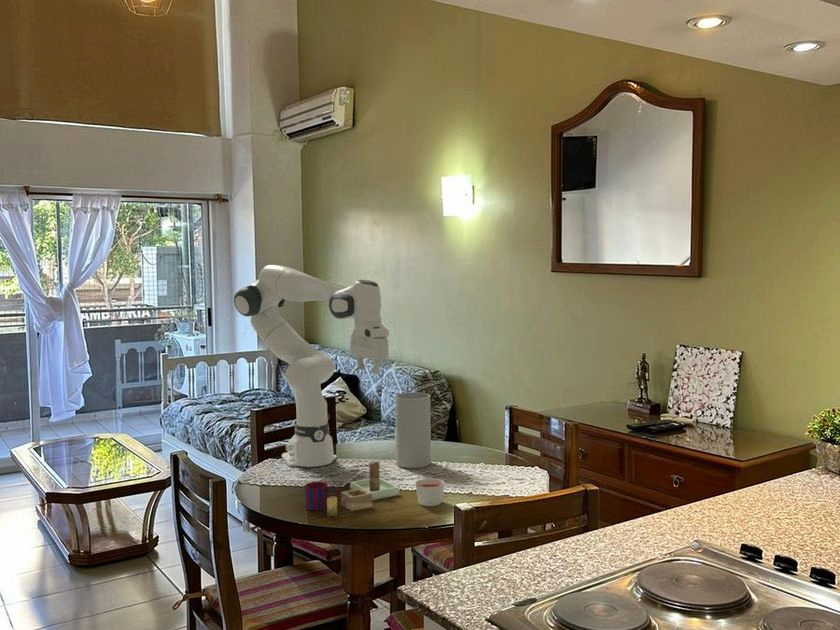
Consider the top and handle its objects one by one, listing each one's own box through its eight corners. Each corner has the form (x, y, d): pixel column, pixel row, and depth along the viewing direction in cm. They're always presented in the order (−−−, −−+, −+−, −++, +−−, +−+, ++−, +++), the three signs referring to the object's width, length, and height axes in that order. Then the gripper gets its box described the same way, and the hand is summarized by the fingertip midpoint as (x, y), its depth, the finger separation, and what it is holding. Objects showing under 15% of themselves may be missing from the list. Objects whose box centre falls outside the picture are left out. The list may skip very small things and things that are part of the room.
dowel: (367, 490, 246) (367, 462, 245) (376, 488, 247) (376, 460, 247) (372, 492, 243) (372, 464, 242) (381, 490, 245) (381, 463, 244)
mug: (309, 502, 236) (309, 481, 235) (341, 504, 234) (340, 482, 234) (302, 510, 229) (301, 487, 229) (334, 511, 228) (334, 489, 227)
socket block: (340, 504, 234) (340, 492, 233) (361, 500, 237) (361, 488, 237) (351, 511, 228) (351, 498, 227) (372, 507, 231) (372, 494, 231)
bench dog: (325, 514, 225) (325, 497, 225) (334, 512, 227) (334, 495, 226) (329, 517, 223) (329, 500, 222) (339, 515, 224) (338, 498, 224)
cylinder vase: (420, 471, 268) (419, 400, 266) (389, 466, 275) (388, 397, 273) (437, 462, 279) (436, 394, 277) (407, 457, 285) (406, 391, 283)
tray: (350, 489, 248) (350, 482, 248) (378, 484, 254) (378, 476, 253) (370, 500, 237) (369, 493, 237) (399, 494, 242) (399, 487, 242)
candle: (422, 509, 229) (422, 488, 228) (410, 500, 237) (410, 480, 236) (449, 505, 232) (449, 484, 232) (437, 496, 240) (437, 476, 240)
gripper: (345, 327, 259) (345, 368, 260) (374, 332, 242) (375, 376, 243) (361, 326, 263) (362, 366, 264) (391, 331, 245) (392, 374, 246)
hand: (368, 371), depth 253 cm, fingers open, 8 cm apart
